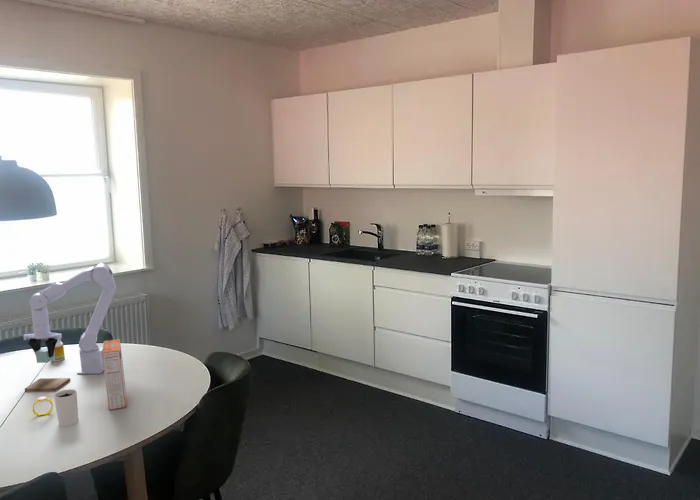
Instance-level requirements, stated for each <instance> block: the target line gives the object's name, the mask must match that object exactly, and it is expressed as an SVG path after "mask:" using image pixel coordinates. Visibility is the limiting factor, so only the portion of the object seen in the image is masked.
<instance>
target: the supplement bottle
mask: <svg viewBox="0 0 700 500" xmlns="http://www.w3.org/2000/svg"><path fill="white" fill-rule="evenodd" d="M65 358H66V357H65V348H64V343H63V342H62V338H61V339H58V341H57V343H56V345H55V349H54V359H53V360H51V361H50V362H60V361H63V360H65Z"/></svg>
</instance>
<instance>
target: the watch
mask: <svg viewBox="0 0 700 500" xmlns="http://www.w3.org/2000/svg"><path fill="white" fill-rule="evenodd" d="M47 397H48V396H40V397H37V399H36V400H35V401H34V403H33V404H32V412H33V414H34V415H35V416H38V417H39V416H47V415H49V414H51V412H52V411H53V408H54V403H53V401H52V400H51V399H50V398H47ZM46 401H47V402H48V403H50V405H51V407H50V410H48V411H47V412H40V413H39V412H36V409H35V405H37V403H38V402H46Z"/></svg>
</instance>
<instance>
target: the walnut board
mask: <svg viewBox="0 0 700 500" xmlns="http://www.w3.org/2000/svg"><path fill="white" fill-rule="evenodd" d="M70 381H71V378H70V377H60V378H59V377H54V378H52V377H51V378H50V377H47V378H39V379H37V380H36V381H34V382H33V383H31V384H29V385H27V386H26V387H25V388H24V392H26V393H27V392H28V393H29V392H30V393H31V392H36V393H37V392H58V390H60V389H61V388H63V387H64V386H66V385H67V384H68V383H70Z"/></svg>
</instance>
